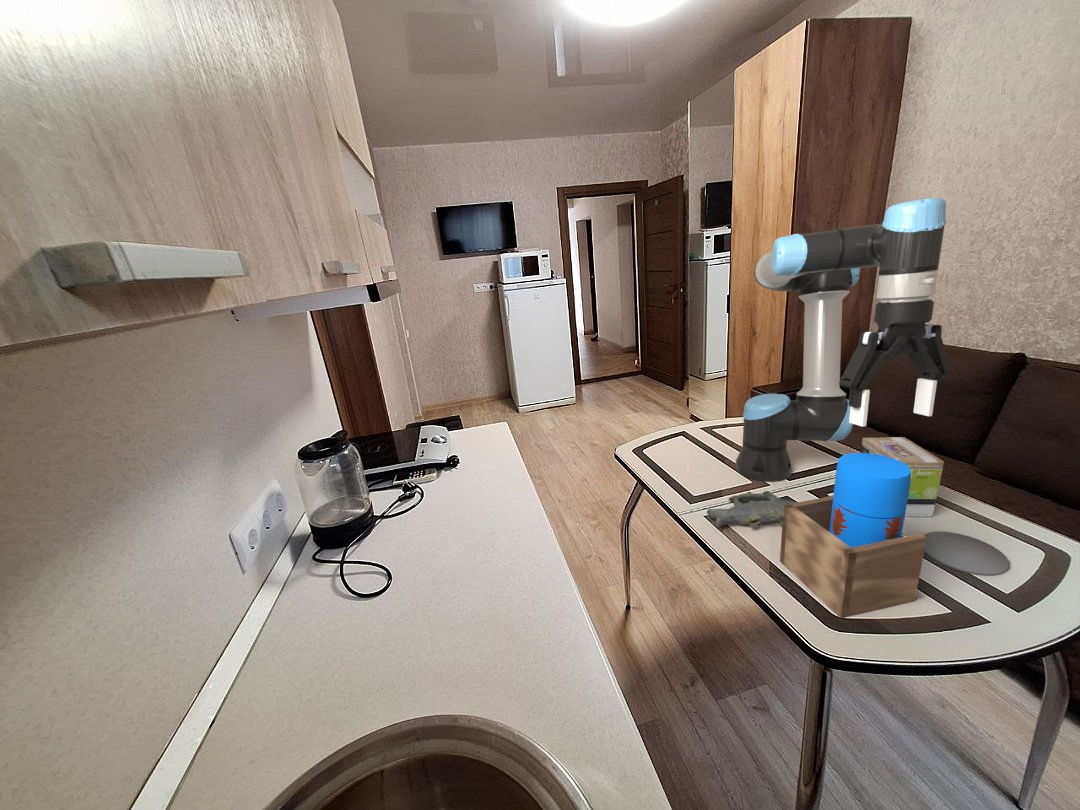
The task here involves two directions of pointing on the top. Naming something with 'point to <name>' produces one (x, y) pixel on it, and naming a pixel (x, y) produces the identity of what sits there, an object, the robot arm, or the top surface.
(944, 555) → the coaster
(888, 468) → the thermos
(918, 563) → the walnut cubby
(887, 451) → the tea box
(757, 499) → the stone fish figurine
